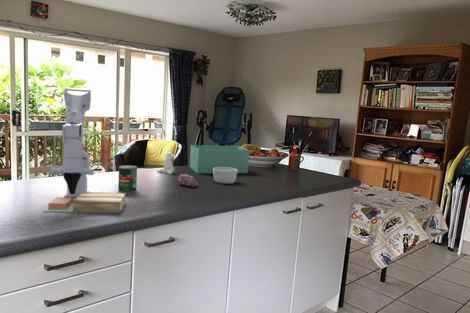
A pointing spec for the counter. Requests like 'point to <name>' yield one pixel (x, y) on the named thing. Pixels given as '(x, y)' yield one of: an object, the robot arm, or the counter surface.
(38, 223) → the counter surface
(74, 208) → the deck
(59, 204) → the tile
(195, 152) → the box
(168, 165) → the seated beast figurine
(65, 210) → the mat
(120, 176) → the canned tomato
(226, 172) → the ramekin
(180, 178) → the pink lumpy figurine
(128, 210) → the counter surface
